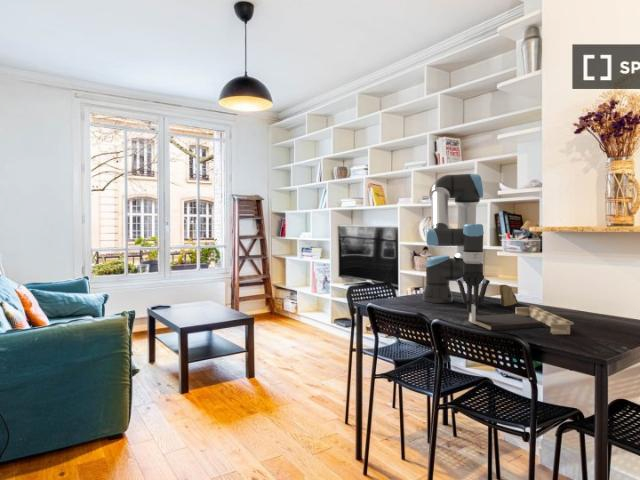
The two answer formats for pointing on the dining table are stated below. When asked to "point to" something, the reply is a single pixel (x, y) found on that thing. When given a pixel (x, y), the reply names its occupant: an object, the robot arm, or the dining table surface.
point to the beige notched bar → (546, 319)
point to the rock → (507, 296)
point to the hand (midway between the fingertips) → (472, 320)
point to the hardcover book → (506, 322)
